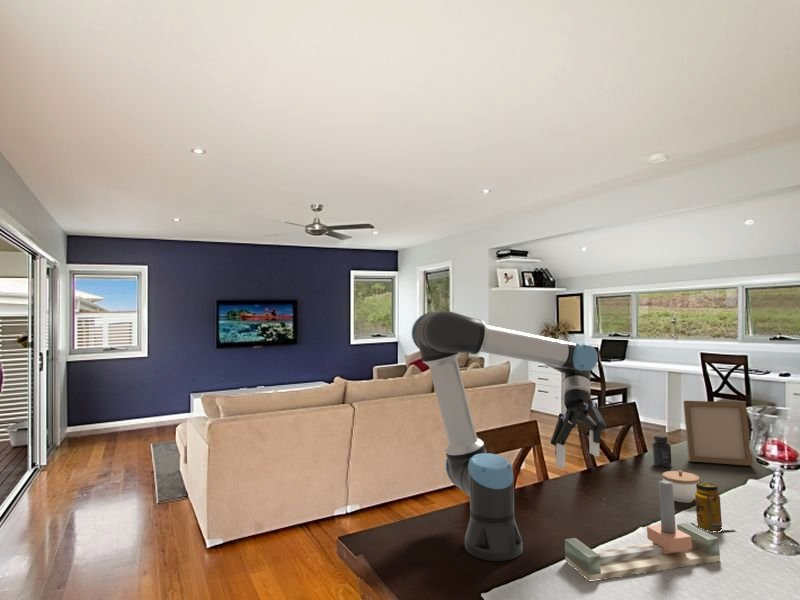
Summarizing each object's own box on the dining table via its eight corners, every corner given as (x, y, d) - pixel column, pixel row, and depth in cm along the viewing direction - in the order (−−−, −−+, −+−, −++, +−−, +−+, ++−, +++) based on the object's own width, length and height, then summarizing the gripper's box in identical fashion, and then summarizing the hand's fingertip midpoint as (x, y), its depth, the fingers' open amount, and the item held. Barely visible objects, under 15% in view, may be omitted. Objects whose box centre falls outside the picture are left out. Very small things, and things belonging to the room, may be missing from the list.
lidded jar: (691, 507, 155) (690, 477, 155) (657, 498, 163) (655, 470, 164) (706, 500, 161) (704, 471, 161) (672, 491, 170) (671, 464, 170)
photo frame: (753, 468, 194) (749, 404, 195) (690, 463, 202) (686, 402, 204) (744, 458, 207) (740, 399, 209) (685, 454, 216) (681, 397, 217)
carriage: (671, 557, 118) (667, 488, 119) (647, 543, 126) (644, 479, 127) (692, 553, 119) (688, 486, 120) (667, 540, 127) (664, 476, 128)
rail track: (589, 582, 112) (588, 557, 112) (565, 562, 122) (564, 539, 122) (720, 561, 120) (718, 538, 120) (687, 544, 130) (686, 522, 130)
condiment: (690, 523, 143) (687, 481, 144) (717, 521, 144) (714, 479, 144) (708, 533, 136) (705, 489, 136) (736, 531, 136) (733, 487, 137)
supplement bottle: (672, 464, 201) (670, 435, 202) (671, 469, 195) (669, 438, 196) (653, 462, 205) (652, 433, 205) (652, 467, 199) (650, 437, 200)
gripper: (618, 384, 141) (621, 454, 128) (559, 411, 160) (557, 475, 147) (597, 373, 139) (598, 443, 126) (541, 402, 158) (537, 466, 145)
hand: (576, 460), depth 136 cm, fingers open, 13 cm apart
